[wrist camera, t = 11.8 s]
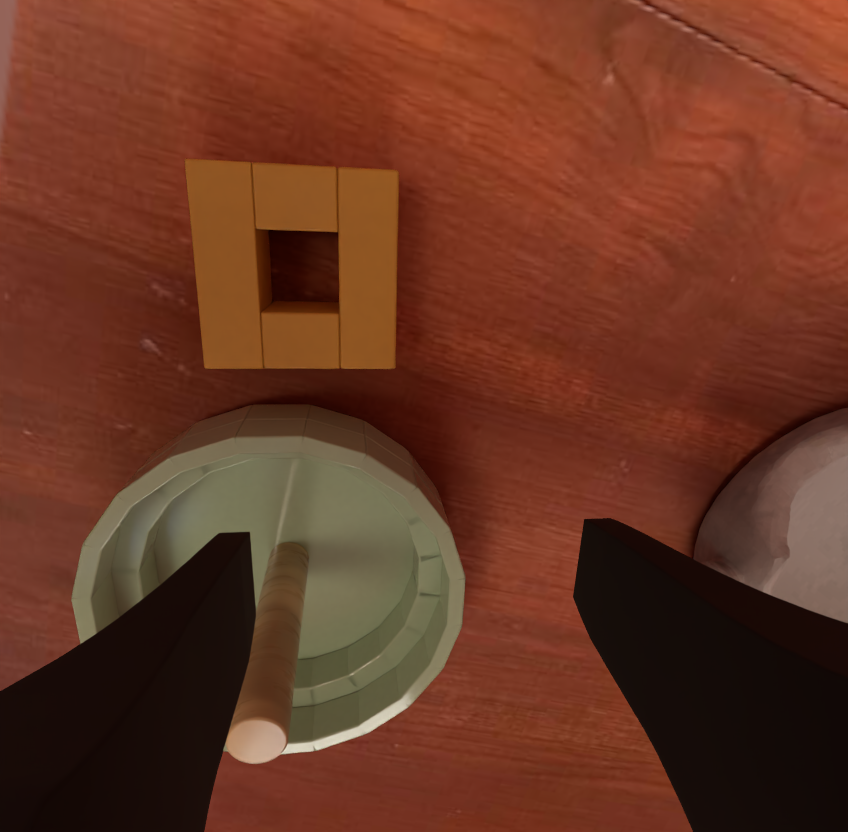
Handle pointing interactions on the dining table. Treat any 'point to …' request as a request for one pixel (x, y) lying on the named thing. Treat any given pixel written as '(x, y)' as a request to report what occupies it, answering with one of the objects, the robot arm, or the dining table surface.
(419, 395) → the dining table surface
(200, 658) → the robot arm
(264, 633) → the stick
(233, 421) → the bowl
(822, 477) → the dish
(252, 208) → the stand
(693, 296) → the dining table surface
